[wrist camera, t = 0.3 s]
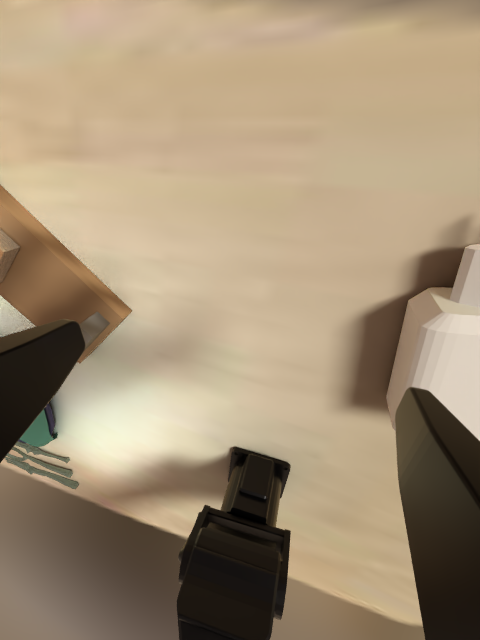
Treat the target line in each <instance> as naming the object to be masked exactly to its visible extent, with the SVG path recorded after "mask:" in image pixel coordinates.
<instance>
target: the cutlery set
mask: <svg viewBox="0 0 480 640" xmlns="http://www.w3.org/2000/svg"><path fill="white" fill-rule="evenodd" d="M54 427H55V422H54V418H53V413H52V409H51V407H50V405H49V403H48V404H47V405H46V407H45V408H44V409H43V410H42V412H41V413H40V414H39V415H38V417H37V418H36V419H35V420H34V422H33V423H32V424H31V425H30V427H29V428H28V429H27V430H26V432H25V433H24V434H23V435H22V437H21V438H20V439H19V440H18V442H17V443H16V444H15V445H16V446H19V447H22V448H25V449H26V451H27V453H29V452H33V453H34V455H36V454H42V455H45V456H49V457H53V458H56V459H59V460H62V461H64V462H66V463H68V461H69V460H70V459H69V457H68V458H63V457H59V456H55V455H52V454H49V453H46V452H43V451H41V450H40V449H38V448H37V447H40V446H44V445H46V444H48V443H49V442H51V441H52V440H54V439H56V438H57V435H58V434H57V433H56V434H54V435H53V438H52V437H51V436H52V433H53V430H54ZM24 443H27V444H30V445H26V444H24ZM32 446H36V447H32ZM12 450H15V451H17V452H18V453H19V454H21V455H22V456H23V458H20V457H16V456H13V455H11V454H9V453H8V454H7V455H6V456H8V457H10V458H8V457H5V458H6V459H5V460H7V462H8V463H12V462H13V463H12V464H14V465H16V466H18V467H20V468H22V469H24V470H26V471H27V472H28V473H30V474H32V473H36V474H39V475H43V476H47V477H49V478H52V479H54V480H56V481H58V482H60V483H62V484H64V485H66V486H68V487H71V488H72V489H76V488H77V486H78V485H79V484H78V482H76V481H72V480H69V479H66V478H64V477H61V476H58V475H55V474H52V473H49V472H46V471H43V470H38V469H35V468H34V467H31V466H30V465H29V464H28V463H25V462H21V461H24V460H26V459H30V460H31V461H33V462H35V463H37V464H40V465H41V466H43V467H45V468H47V469H50V470H52V471H55V472H57V473H60V474H62V475H65V476H67V477H69V478H70V477H71V476H72V474H73V473H72V471H71V470H67V469H63V468H59V467H56V466H53V465H50V464H47V463H44V462H42V461H40V460H37V459H35V458H32V457H30V456H28V455H26V454H24V453H23V452H21V451H20V450H19V449H17V448H15V447H13V448H12ZM11 458H12V459H11ZM8 459H10V460H8ZM14 459H15V460H14ZM18 460H19V461H18ZM9 461H11V462H9Z"/></svg>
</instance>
